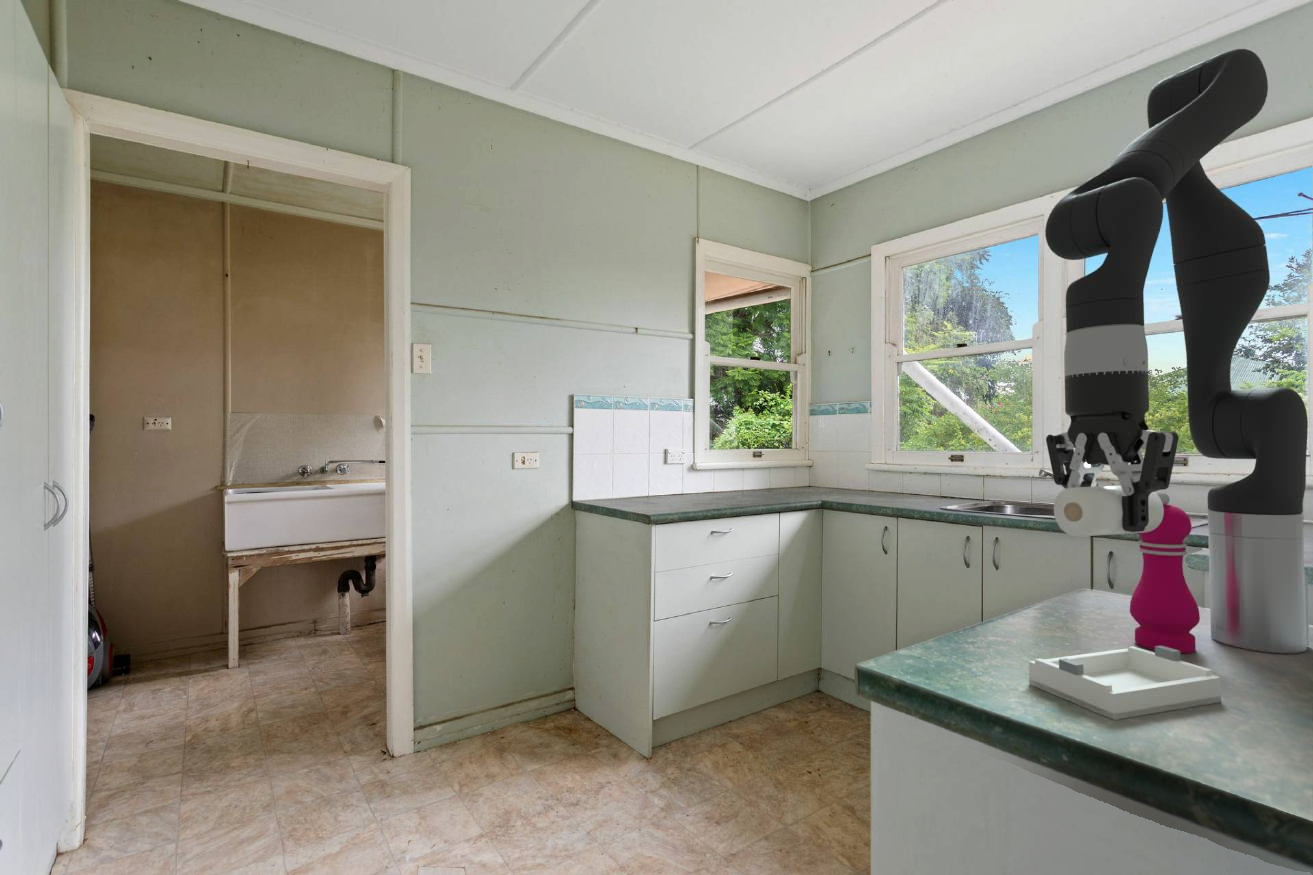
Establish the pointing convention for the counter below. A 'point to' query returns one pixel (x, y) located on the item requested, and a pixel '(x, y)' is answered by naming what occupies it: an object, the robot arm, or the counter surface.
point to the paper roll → (1099, 511)
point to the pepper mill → (1165, 586)
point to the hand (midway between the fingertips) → (1108, 527)
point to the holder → (1127, 681)
